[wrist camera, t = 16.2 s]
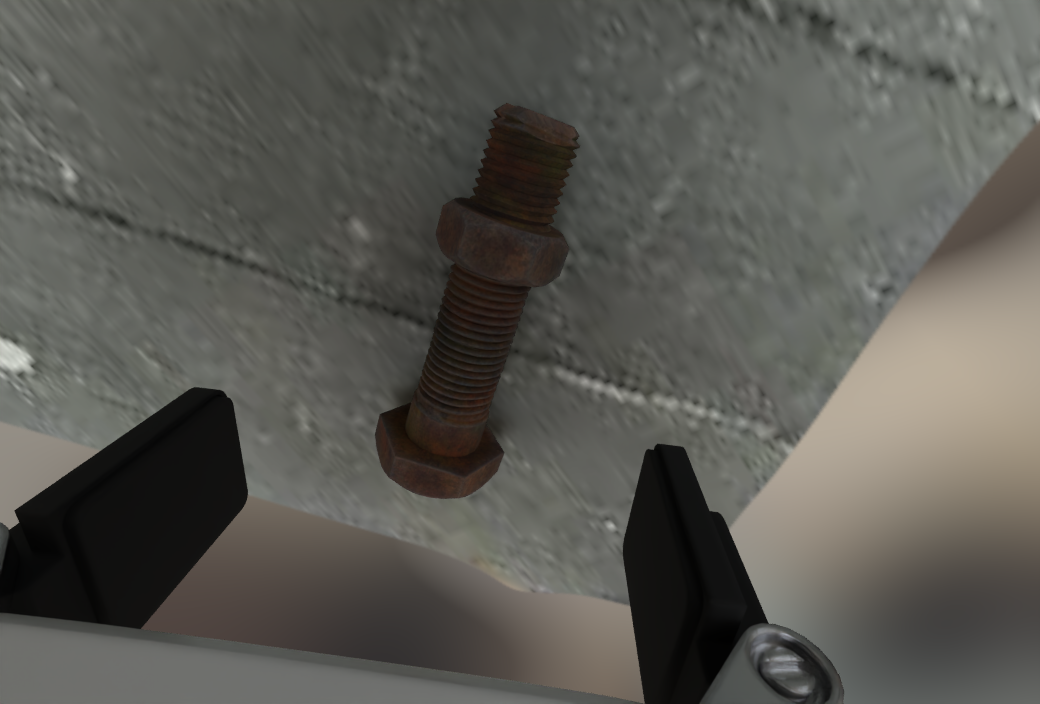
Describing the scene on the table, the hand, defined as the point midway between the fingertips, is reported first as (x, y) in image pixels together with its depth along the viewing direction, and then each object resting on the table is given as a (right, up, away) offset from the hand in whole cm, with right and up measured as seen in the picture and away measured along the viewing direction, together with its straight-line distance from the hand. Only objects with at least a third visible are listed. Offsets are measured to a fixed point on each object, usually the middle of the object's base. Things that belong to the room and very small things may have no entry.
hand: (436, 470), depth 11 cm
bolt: (+1, +5, +11) cm, 12 cm away
